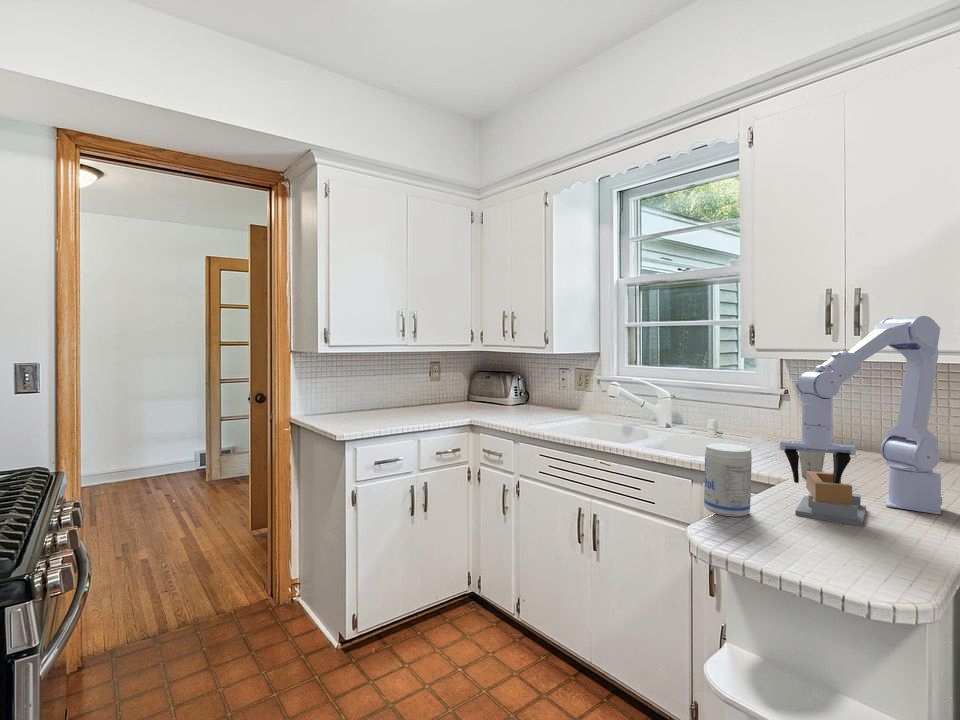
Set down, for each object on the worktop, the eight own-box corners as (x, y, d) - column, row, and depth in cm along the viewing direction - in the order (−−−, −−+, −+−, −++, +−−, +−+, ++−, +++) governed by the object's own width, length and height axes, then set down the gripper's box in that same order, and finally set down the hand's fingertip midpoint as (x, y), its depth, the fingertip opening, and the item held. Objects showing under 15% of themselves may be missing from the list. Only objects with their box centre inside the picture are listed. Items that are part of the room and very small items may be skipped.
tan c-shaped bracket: (839, 490, 121) (839, 473, 121) (851, 505, 110) (852, 486, 110) (806, 487, 124) (806, 470, 124) (815, 501, 113) (815, 483, 113)
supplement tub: (696, 505, 122) (696, 443, 121) (734, 503, 123) (734, 442, 122) (719, 519, 112) (719, 451, 112) (760, 517, 113) (761, 450, 113)
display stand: (865, 510, 118) (866, 494, 118) (862, 526, 107) (862, 510, 107) (804, 500, 125) (804, 485, 125) (795, 514, 114) (795, 499, 114)
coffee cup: (832, 479, 145) (832, 444, 144) (813, 481, 142) (813, 445, 142) (809, 473, 151) (809, 439, 151) (791, 475, 149) (791, 441, 149)
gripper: (850, 423, 118) (849, 482, 119) (777, 420, 124) (777, 476, 124) (858, 428, 112) (857, 490, 112) (781, 424, 118) (780, 483, 118)
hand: (815, 483), depth 118 cm, fingers open, 7 cm apart
